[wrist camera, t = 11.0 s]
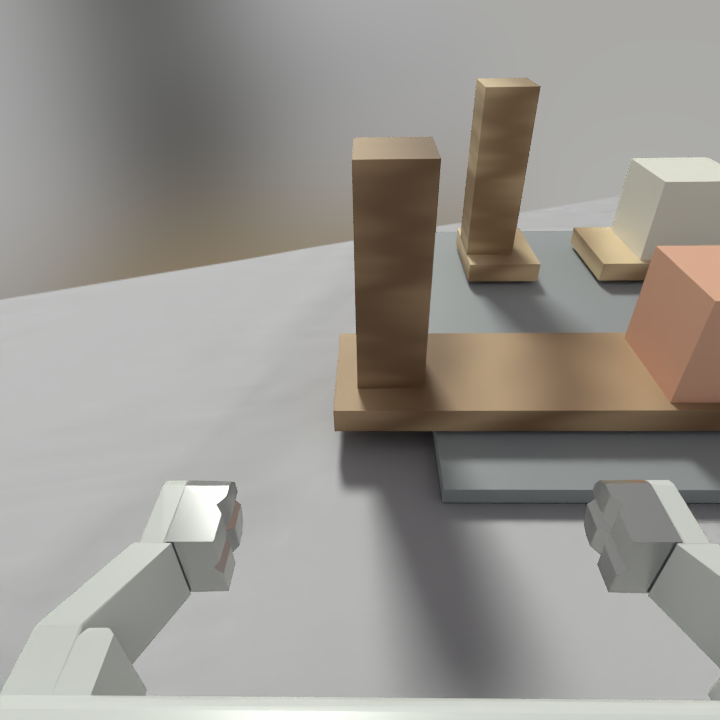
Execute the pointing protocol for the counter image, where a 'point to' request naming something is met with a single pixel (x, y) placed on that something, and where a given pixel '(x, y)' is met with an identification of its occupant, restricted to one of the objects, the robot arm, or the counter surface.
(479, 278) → the broken oak strip
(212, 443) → the counter surface
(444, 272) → the slate board
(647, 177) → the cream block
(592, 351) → the wooden l-shaped stand
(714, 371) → the terracotta block
